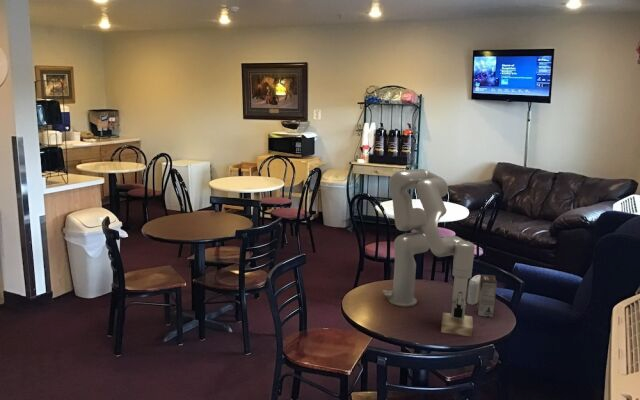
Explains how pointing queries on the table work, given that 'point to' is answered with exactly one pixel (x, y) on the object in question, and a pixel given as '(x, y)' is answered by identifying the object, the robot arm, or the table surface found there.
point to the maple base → (457, 325)
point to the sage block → (454, 307)
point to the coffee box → (486, 295)
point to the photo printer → (473, 290)
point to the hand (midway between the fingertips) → (457, 314)
